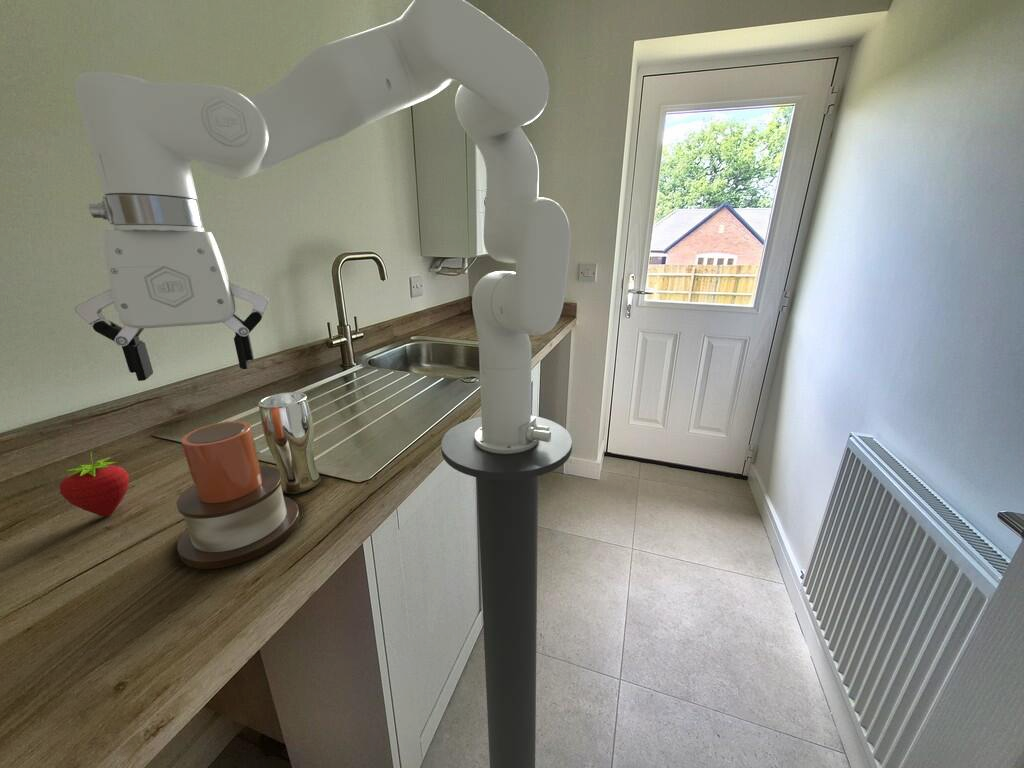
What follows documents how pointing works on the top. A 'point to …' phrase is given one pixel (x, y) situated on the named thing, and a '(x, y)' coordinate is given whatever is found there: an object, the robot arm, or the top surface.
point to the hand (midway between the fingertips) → (197, 371)
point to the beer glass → (290, 439)
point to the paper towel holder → (236, 524)
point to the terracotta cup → (222, 461)
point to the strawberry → (96, 487)
